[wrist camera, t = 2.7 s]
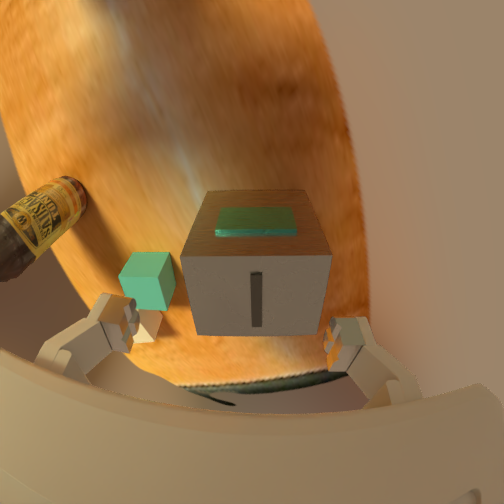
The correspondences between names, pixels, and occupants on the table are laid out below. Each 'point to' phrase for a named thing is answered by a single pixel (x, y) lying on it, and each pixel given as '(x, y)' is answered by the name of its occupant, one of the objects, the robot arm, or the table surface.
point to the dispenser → (256, 264)
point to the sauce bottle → (38, 223)
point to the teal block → (149, 280)
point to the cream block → (148, 325)
